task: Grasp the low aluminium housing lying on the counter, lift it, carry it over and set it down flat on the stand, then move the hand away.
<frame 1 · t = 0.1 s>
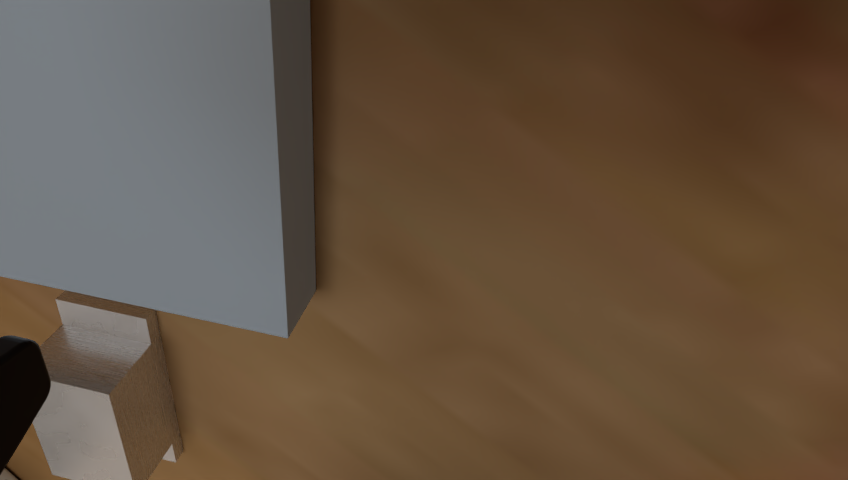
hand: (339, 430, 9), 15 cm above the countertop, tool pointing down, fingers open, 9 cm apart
housing: (129, 375, 33), on the countertop
stand: (102, 74, 24), on the countertop
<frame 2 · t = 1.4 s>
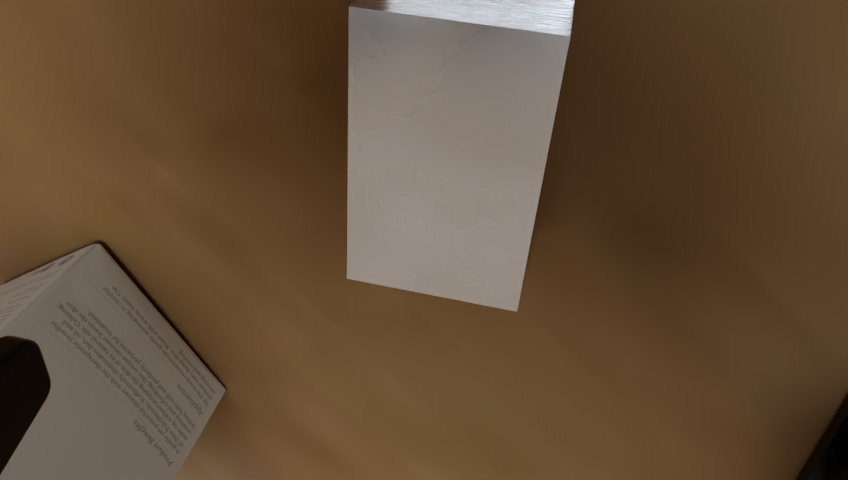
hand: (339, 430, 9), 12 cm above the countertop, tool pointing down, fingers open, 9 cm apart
skincare box: (125, 335, 27), on the countertop
housing: (469, 109, 18), on the countertop
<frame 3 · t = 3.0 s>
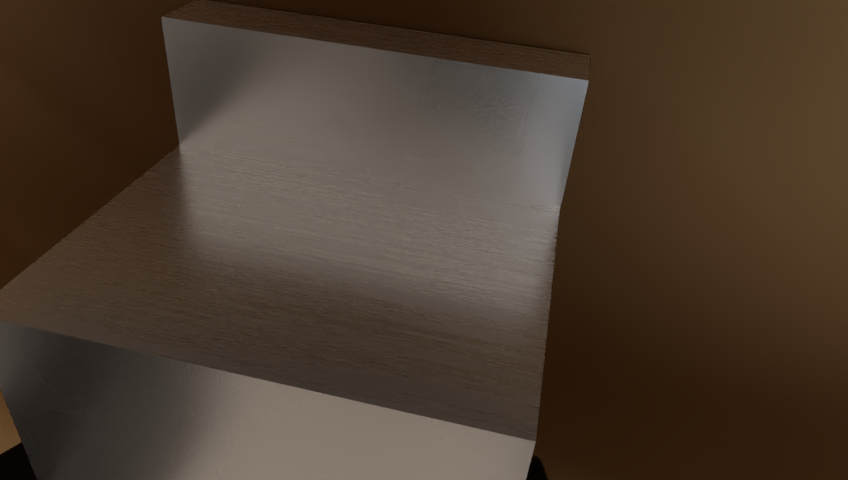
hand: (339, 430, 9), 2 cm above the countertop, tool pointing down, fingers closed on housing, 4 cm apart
housing: (371, 354, 10), on the countertop, touching gripper
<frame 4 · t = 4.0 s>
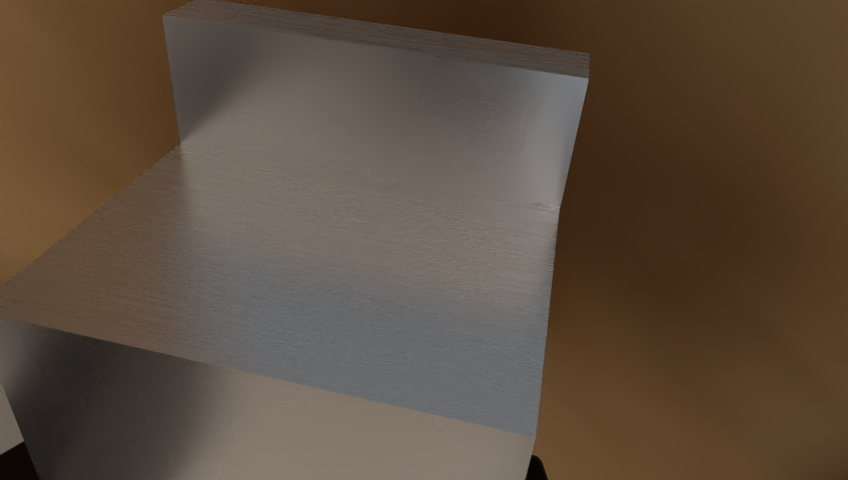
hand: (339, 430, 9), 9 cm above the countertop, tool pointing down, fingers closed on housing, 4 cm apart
skincare box: (90, 378, 25), on the countertop
housing: (372, 352, 10), point 7 cm above the countertop, touching gripper
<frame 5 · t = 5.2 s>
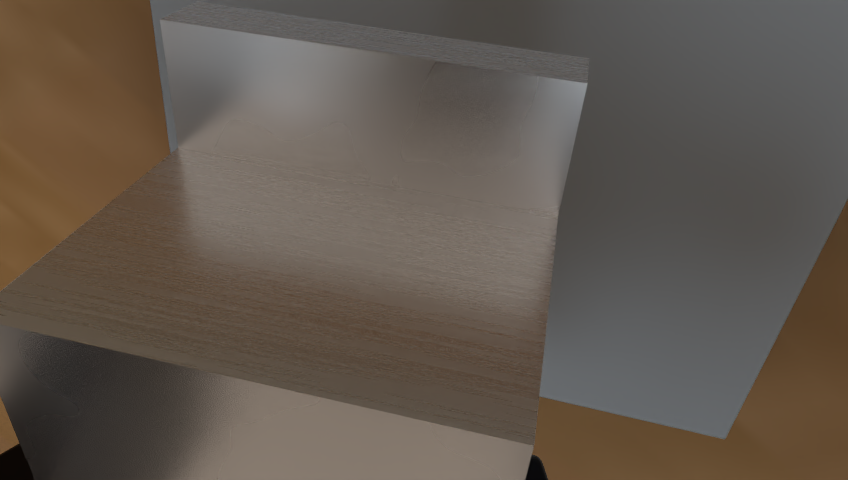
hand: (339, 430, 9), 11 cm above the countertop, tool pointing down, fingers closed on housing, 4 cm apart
housing: (370, 355, 10), point 10 cm above the countertop, touching gripper
stand: (498, 78, 18), on the countertop
when the fingers open (5 cm above the countertop, at t = 6.7 s): housing stays where it is, resting on stand.
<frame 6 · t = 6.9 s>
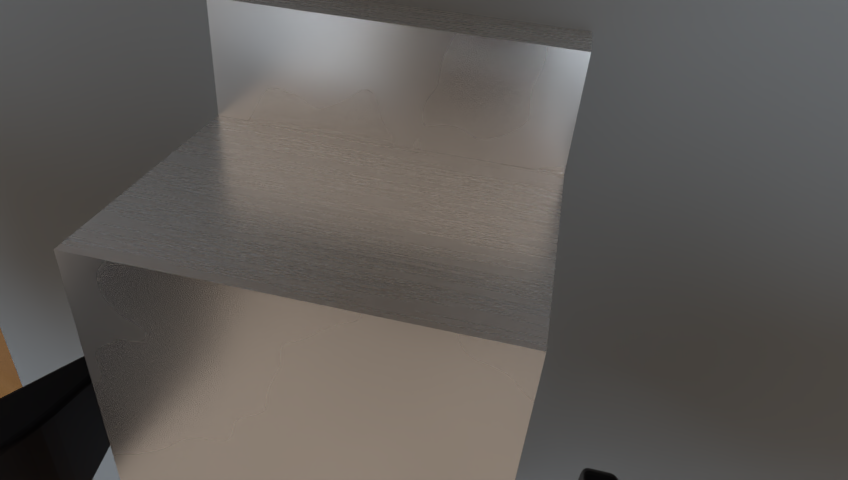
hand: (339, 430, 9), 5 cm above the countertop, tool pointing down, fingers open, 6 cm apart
housing: (388, 315, 11), point 3 cm above the countertop, touching stand
stand: (426, 219, 13), on the countertop
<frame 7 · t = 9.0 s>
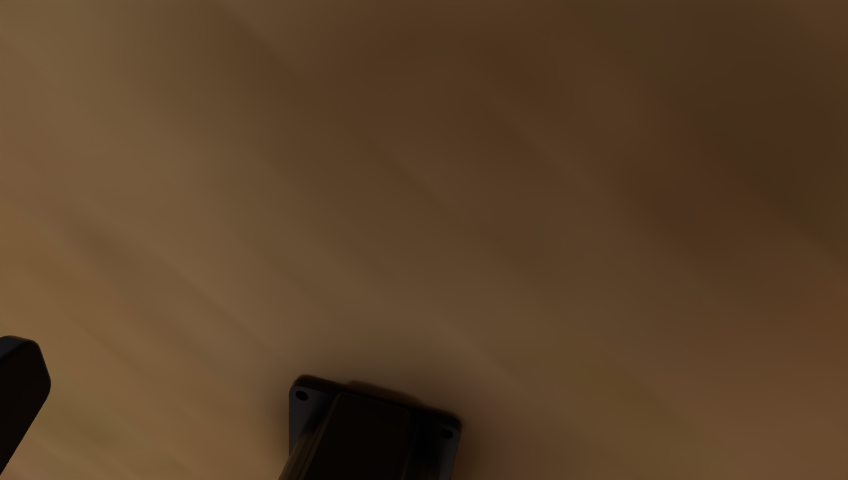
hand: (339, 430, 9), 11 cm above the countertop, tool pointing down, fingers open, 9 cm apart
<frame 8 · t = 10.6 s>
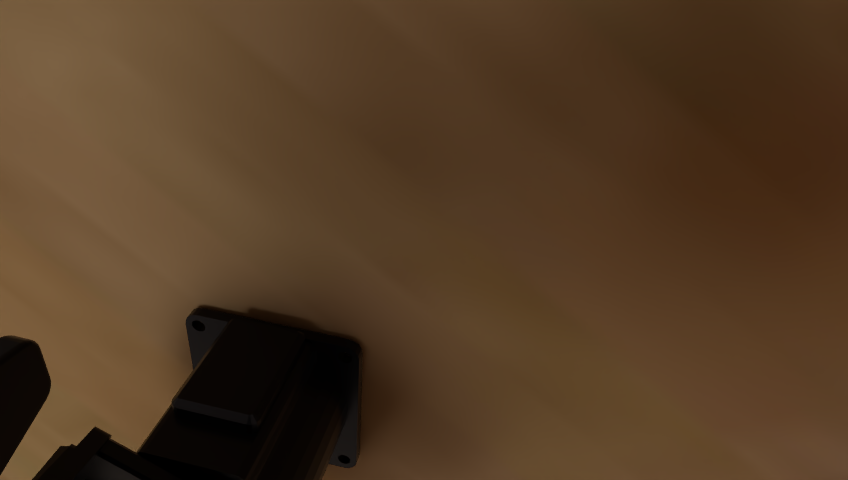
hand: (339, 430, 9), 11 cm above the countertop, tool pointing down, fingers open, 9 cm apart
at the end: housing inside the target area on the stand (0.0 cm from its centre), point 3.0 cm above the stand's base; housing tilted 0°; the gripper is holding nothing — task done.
